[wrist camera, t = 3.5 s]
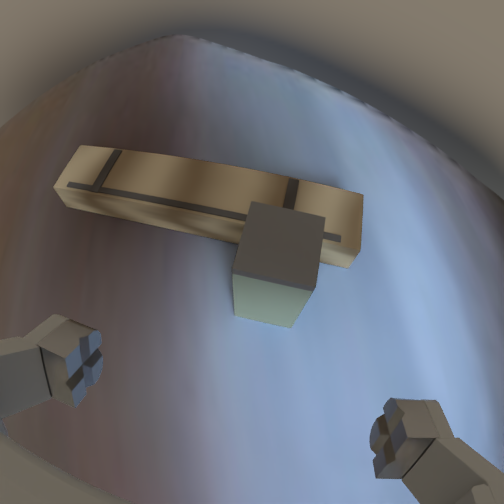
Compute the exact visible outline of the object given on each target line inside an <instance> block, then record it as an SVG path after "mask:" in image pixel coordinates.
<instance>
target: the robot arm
mask: <svg viewBox="0 0 504 504" xmlns="http://www.w3.org/2000/svg"><path fill="white" fill-rule="evenodd" d="M101 343H102V342H101V333H100V332H99V331H98V330H96V329H93V328H91V327H88V326H86V325H83V324H81V323H78V322H76V321H74V320H71V319H68V318H66V317H64V316H61V315H59V314H53V315H52V316H51V317H49V318H48V319H47V320H45V321H44V322H43V323H41V324H40V325H39V326H38V327H36V328H35V329H34V330H32V331H31V332H30V333H29V334H27V335H26V336H25V337H23V338H21V337H19V336H18V337H13V338H8V339H3V340H0V504H135V503H133V502H130V501H127V500H125V499H122V498H120V497H117V496H115V495H113V494H110V493H108V492H106V491H103V490H101V489H99V488H97V487H94V486H92V485H90V484H88V483H86V482H84V481H82V480H80V479H78V478H76V477H74V476H72V475H70V474H68V473H66V472H64V471H63V470H61V469H59V468H57V467H55V466H53V465H52V464H50V463H48V462H46V461H45V460H43V459H41V458H40V457H38V456H36V455H35V454H33V453H32V452H30V451H28V450H27V449H25V448H24V447H22V446H21V445H19V444H18V443H16V442H15V441H13V440H12V439H10V438H9V437H7V436H8V432H7V429H6V427H5V425H4V423H3V421H2V419H3V418H5V417H8V416H10V415H13V414H15V413H18V412H20V411H22V410H25V409H27V408H30V407H32V406H34V405H37V404H39V403H42V402H44V401H46V400H49V399H51V397H52V398H55V399H57V400H59V401H61V402H63V403H65V404H67V405H69V406H72V407H74V408H76V406H77V405H78V404H79V403H80V401H81V400H82V399H83V398H84V396H85V395H86V387H88V386H91V385H94V384H95V383H96V381H97V380H98V379H99V376H100V374H101V371H102V366H103V356H102V354H101V352H100V351H99V349H98V347H99V346H100V344H101ZM383 410H384V413H385V414H383V415H382V416H380V417H378V418H377V419H376V421H375V422H374V424H373V426H372V429H371V433H370V448H371V450H372V451H373V452H374V453H375V454H376V456H375V458H374V459H373V465H374V471H375V477H376V478H379V479H402V481H403V483H404V484H405V485H406V486H407V488H408V489H409V490H410V492H411V493H412V494H413V495H414V497H415V498H416V499H417V500H418V502H419V503H420V504H504V473H503V472H501V471H500V470H499V469H497V468H496V467H495V466H494V465H492V464H491V463H490V462H489V461H487V460H486V459H485V458H483V457H482V456H481V455H480V454H478V453H477V452H476V451H475V450H473V449H472V448H471V447H470V446H468V445H467V444H466V443H465V442H463V441H462V440H461V439H460V438H455V437H454V435H453V433H452V431H451V428H450V426H449V424H448V421H447V419H446V417H445V415H444V413H443V410H442V408H441V406H440V404H439V402H437V401H436V400H414V399H400V398H390V399H389V400H388V401H387V402H386V404H385V405H384V407H383Z"/></svg>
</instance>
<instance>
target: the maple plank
mask: <svg viewBox="0 0 504 504" xmlns="http://www.w3.org/2000/svg"><path fill="white" fill-rule="evenodd" d="M54 189H55V190H56V192H57V193H58V195H59V196H60V198H61V199H62V201H63V202H64V204H65V205H66V207H70V208H75V209H79V210H84V211H89V212H93V213H98V214H103V215H107V216H112V217H116V218H121V219H126V220H130V221H135V222H140V223H144V224H149V225H153V226H158V227H162V228H167V229H172V230H176V231H181V232H185V233H190V234H195V235H199V236H204V237H208V238H213V239H217V240H222V241H226V242H231V243H236V244H239V242H240V239H241V235H242V232H243V228H244V225H245V221H246V218H247V214H248V211H249V207H250V204H251V201H254V202H259V203H264V204H268V205H273V206H278V207H282V208H287V209H291V210H296V211H300V212H305V213H309V214H314V215H318V216H322V217H326V219H325V227H324V234H323V241H322V248H321V255H320V262H321V263H326V264H330V265H334V266H339V267H343V268H349V266H350V265H351V263H352V262H353V261H354V259H355V258H356V256H357V255H358V253H359V252H360V249H361V234H362V216H363V194H359V193H355V192H351V191H347V190H343V189H339V188H335V187H331V186H327V185H323V184H318V183H314V182H310V181H305V180H301V179H296V178H292V177H287V176H282V175H278V174H273V173H268V172H263V171H258V170H253V169H248V168H242V167H237V166H231V165H226V164H220V163H214V162H208V161H202V160H196V159H190V158H183V157H177V156H170V155H163V154H156V153H148V152H140V151H132V150H124V149H115V148H105V147H95V146H85V145H80V147H79V148H78V150H77V151H76V153H75V154H74V156H73V157H72V159H71V160H70V162H69V163H68V165H67V166H66V168H65V169H64V171H63V172H62V174H61V176H60V177H59V179H58V180H57V182H56V184H55V185H54Z"/></svg>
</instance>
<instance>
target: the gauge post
mask: <svg viewBox="0 0 504 504" xmlns="http://www.w3.org/2000/svg"><path fill="white" fill-rule="evenodd" d="M325 219H326V217H322V216H318V215H314V214H309V213H305V212H300V211H296V210H291V209H287V208H282V207H278V206H273V205H268V204H264V203H259V202H254V201H251V204H250V207H249V211H248V214H247V218H246V221H245V225H244V228H243V232H242V235H241V239H240V242H239V246H238V249H237V252H236V256H235V260H234V263H233V267H232V279H233V296H234V313H235V316H238V317H242V318H247V319H251V320H255V321H260V322H264V323H269V324H273V325H278V326H282V327H287V328H291V327H292V326H293V324H294V323H295V321H296V319H297V318H298V316H299V314H300V313H301V311H302V309H303V308H304V306H305V304H306V303H307V301H308V299H309V298H310V296H311V294H312V292H313V291H314V289H315V287H316V281H317V275H318V269H319V262H320V255H321V248H322V241H323V234H324V227H325Z"/></svg>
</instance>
